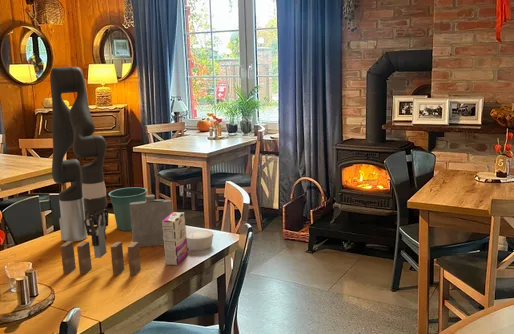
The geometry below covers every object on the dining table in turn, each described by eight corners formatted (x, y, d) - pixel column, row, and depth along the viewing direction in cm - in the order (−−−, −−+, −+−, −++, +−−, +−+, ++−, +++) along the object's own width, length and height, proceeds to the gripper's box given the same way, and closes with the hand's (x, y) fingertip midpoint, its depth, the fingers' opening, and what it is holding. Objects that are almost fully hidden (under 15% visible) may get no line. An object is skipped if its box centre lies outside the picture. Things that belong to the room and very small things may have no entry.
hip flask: (133, 248, 203) (128, 198, 199) (133, 244, 207) (129, 195, 203) (174, 244, 206) (170, 195, 202) (174, 240, 210) (170, 192, 206)
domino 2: (79, 274, 179) (76, 246, 177) (86, 268, 184) (83, 241, 182) (85, 274, 179) (82, 246, 177) (91, 268, 184) (89, 241, 182)
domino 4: (113, 274, 177) (110, 246, 176) (118, 269, 182) (116, 241, 180) (118, 274, 177) (116, 246, 175) (124, 269, 182) (121, 241, 180)
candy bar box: (175, 254, 195) (172, 211, 192) (188, 254, 194) (185, 212, 191) (164, 265, 184) (160, 220, 181) (177, 265, 183) (174, 221, 180)
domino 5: (130, 275, 177) (127, 246, 175) (135, 269, 181) (133, 241, 180) (135, 275, 176) (133, 247, 174) (140, 269, 181) (138, 242, 179)
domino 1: (63, 273, 180) (60, 246, 178) (70, 268, 185) (67, 241, 183) (68, 273, 180) (65, 246, 178) (75, 268, 185) (72, 241, 183)
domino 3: (94, 257, 177) (92, 229, 175) (101, 252, 182) (98, 225, 180) (100, 257, 177) (97, 229, 175) (106, 252, 182) (103, 225, 180)
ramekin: (179, 246, 203) (178, 233, 202) (204, 240, 210) (203, 227, 209) (194, 254, 194) (193, 240, 193) (219, 247, 201) (218, 234, 200)
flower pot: (135, 234, 220) (132, 197, 217) (103, 231, 226) (100, 195, 223) (157, 223, 235) (154, 188, 232) (127, 220, 241) (124, 186, 238)
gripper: (93, 190, 183) (98, 236, 186) (73, 200, 169) (79, 250, 172) (113, 189, 182) (118, 236, 185) (95, 200, 168) (100, 250, 171)
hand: (99, 242), depth 179 cm, fingers closed on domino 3, 5 cm apart
